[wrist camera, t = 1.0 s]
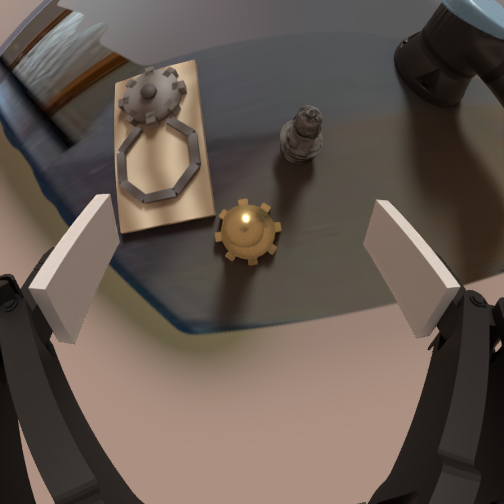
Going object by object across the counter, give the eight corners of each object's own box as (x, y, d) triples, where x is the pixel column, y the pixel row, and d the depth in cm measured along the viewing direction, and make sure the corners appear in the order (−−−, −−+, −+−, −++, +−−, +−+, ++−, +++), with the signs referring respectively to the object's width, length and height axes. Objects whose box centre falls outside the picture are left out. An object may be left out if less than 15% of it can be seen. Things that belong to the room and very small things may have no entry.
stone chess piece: (296, 174, 39) (310, 145, 27) (269, 143, 39) (272, 104, 27) (327, 151, 39) (350, 116, 27) (300, 121, 39) (313, 79, 27)
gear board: (196, 64, 39) (190, 49, 34) (216, 215, 39) (210, 211, 35) (119, 87, 39) (108, 75, 35) (125, 233, 40) (111, 232, 35)
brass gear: (274, 196, 39) (280, 175, 27) (285, 258, 39) (295, 264, 27) (212, 207, 39) (192, 190, 27) (222, 268, 39) (205, 278, 27)
